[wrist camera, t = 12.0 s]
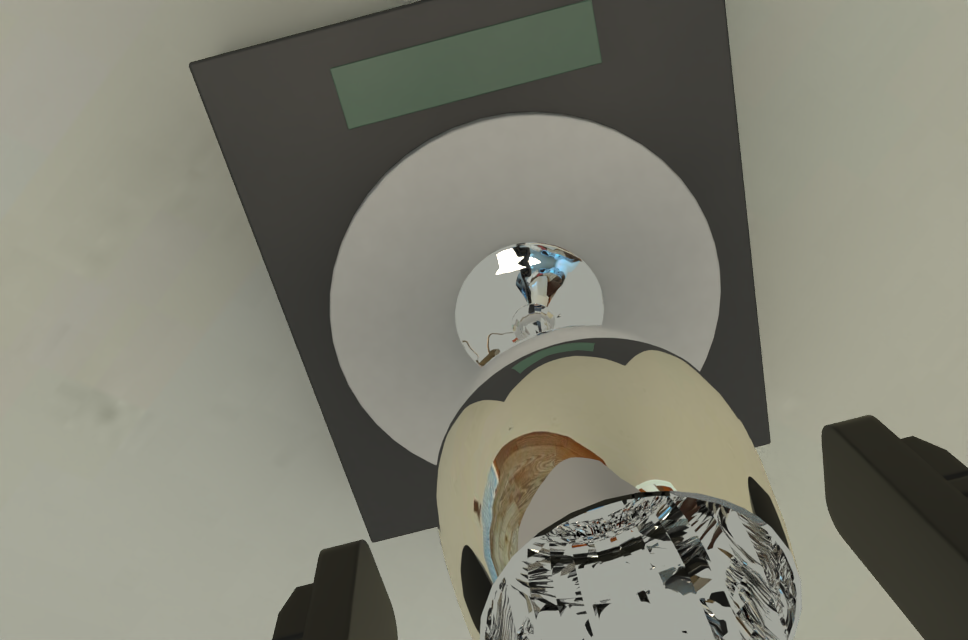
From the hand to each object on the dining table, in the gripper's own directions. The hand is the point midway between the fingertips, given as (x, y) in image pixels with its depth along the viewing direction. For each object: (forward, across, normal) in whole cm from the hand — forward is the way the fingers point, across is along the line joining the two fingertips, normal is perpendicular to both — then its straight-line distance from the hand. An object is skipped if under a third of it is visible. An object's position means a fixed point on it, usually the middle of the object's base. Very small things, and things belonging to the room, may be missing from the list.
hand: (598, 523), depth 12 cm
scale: (+13, 0, -1) cm, 13 cm away
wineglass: (+10, 0, 0) cm, 10 cm away
